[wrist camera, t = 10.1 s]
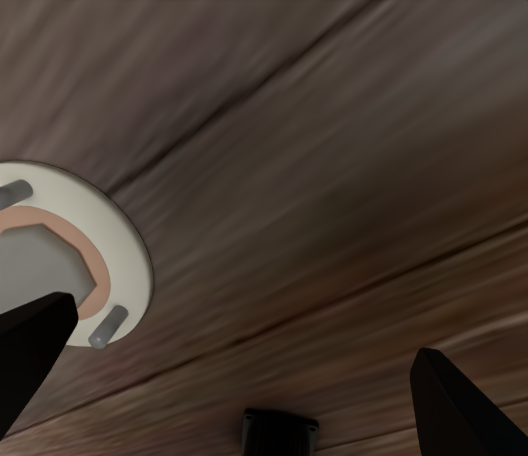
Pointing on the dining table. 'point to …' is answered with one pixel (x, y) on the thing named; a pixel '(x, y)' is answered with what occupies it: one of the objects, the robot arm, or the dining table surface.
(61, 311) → the robot arm
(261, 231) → the dining table surface
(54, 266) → the flask
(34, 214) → the pin cradle
